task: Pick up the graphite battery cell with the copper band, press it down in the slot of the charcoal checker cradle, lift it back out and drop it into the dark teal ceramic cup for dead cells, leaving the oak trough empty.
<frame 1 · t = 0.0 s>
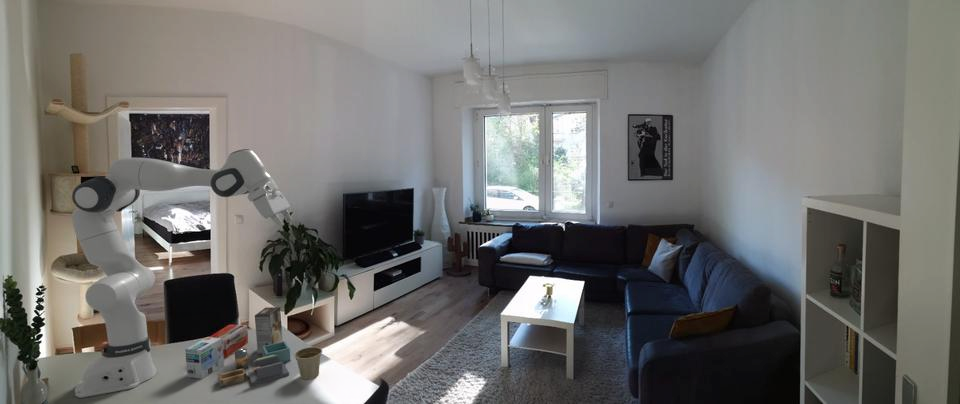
hand: (286, 223, 162), 54 cm above the table, tool tilted 30°, fingers open, 8 cm apart
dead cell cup: (276, 359, 175), on the table
flower pot: (309, 375, 163), on the table
coffee box: (270, 349, 185), on the table
cell: (242, 368, 168), on the table
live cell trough: (233, 380, 159), on the table
checker plate: (268, 368, 163), point 2 cm above the table, slide at 0.3 cm
checker cradle: (268, 374, 163), on the table
light bulb box: (206, 371, 167), on the table
medicine box: (228, 350, 184), on the table
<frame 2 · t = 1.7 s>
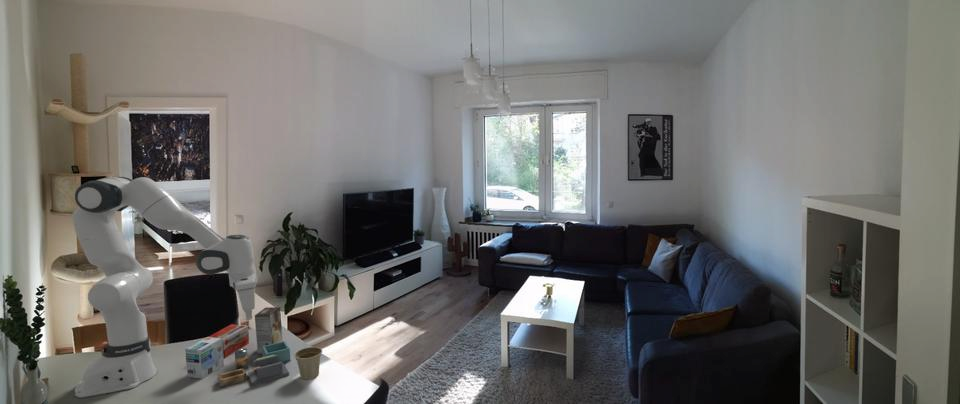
hand: (248, 315, 166), 20 cm above the table, tool pointing down, fingers open, 8 cm apart
nothing on the table moved.
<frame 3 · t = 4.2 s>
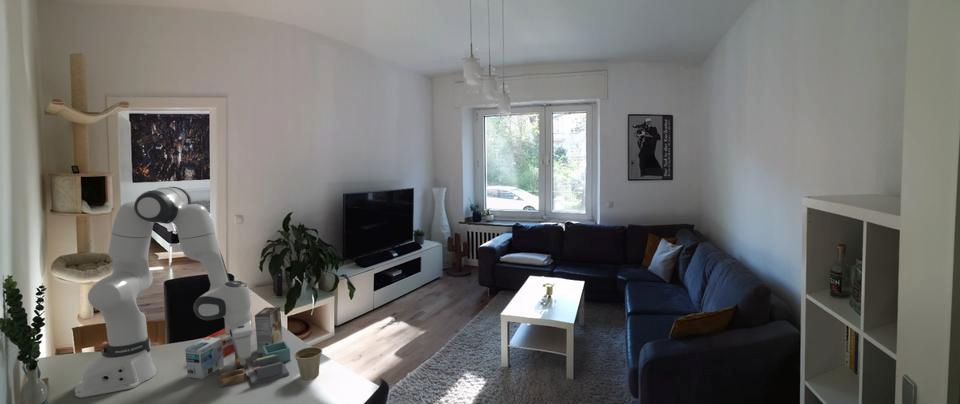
hand: (241, 360, 168), 3 cm above the table, tool pointing down, fingers closed on cell, 4 cm apart
cell: (242, 368, 168), on the table, touching gripper
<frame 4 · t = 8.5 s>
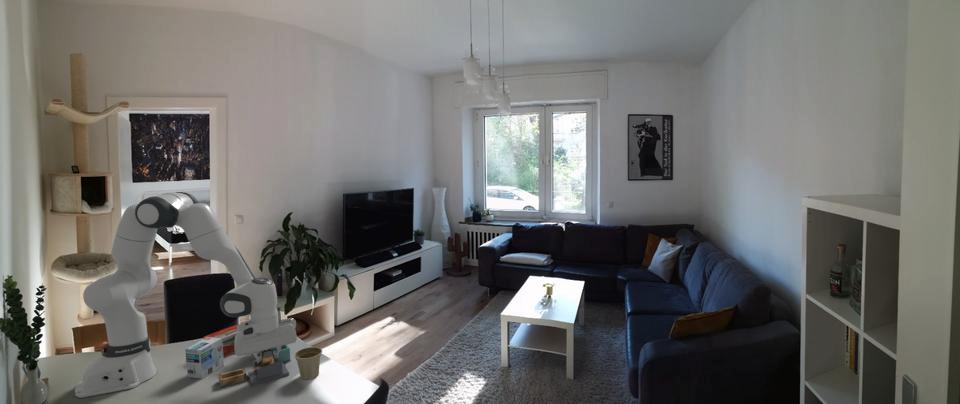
hand: (267, 360, 163), 6 cm above the table, tool pointing down, fingers closed on cell, 4 cm apart
cell: (268, 368, 163), point 3 cm above the table, touching checker plate, gripper
checker plate: (268, 369, 163), point 2 cm above the table, slide at 0.7 cm, touching cell
when the fingers open (6 cm above the table, at t = 13.1 s): cell drops 2 cm, resting on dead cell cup.
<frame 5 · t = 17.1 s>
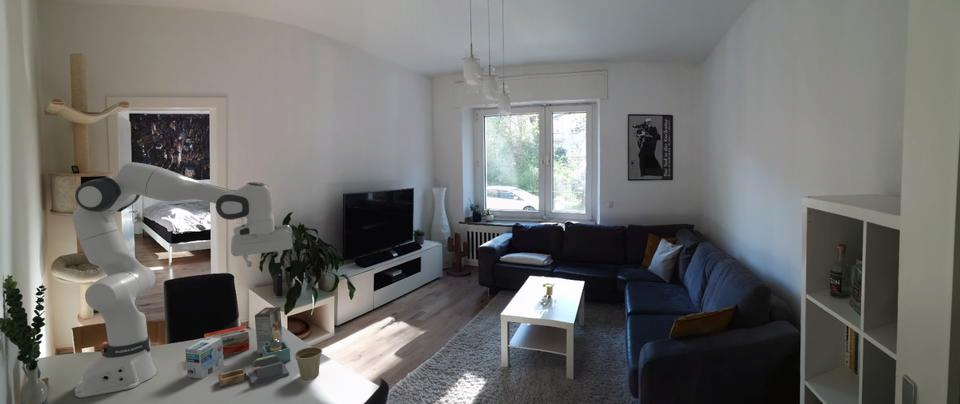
hand: (263, 264, 165), 39 cm above the table, tool pointing down, fingers open, 8 cm apart
cell: (276, 358, 175), point 1 cm above the table, touching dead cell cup
checker plate: (268, 369, 163), point 2 cm above the table, slide at 0.7 cm
at the end: cell 0.1 cm off-centre on the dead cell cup, point 0.6 cm above the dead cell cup's base; the gripper is holding nothing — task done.
